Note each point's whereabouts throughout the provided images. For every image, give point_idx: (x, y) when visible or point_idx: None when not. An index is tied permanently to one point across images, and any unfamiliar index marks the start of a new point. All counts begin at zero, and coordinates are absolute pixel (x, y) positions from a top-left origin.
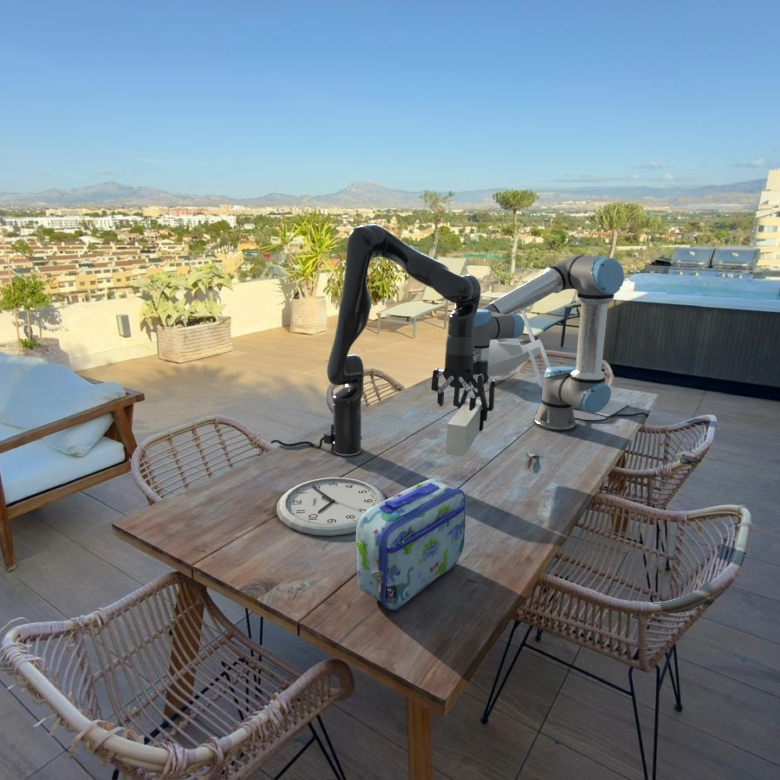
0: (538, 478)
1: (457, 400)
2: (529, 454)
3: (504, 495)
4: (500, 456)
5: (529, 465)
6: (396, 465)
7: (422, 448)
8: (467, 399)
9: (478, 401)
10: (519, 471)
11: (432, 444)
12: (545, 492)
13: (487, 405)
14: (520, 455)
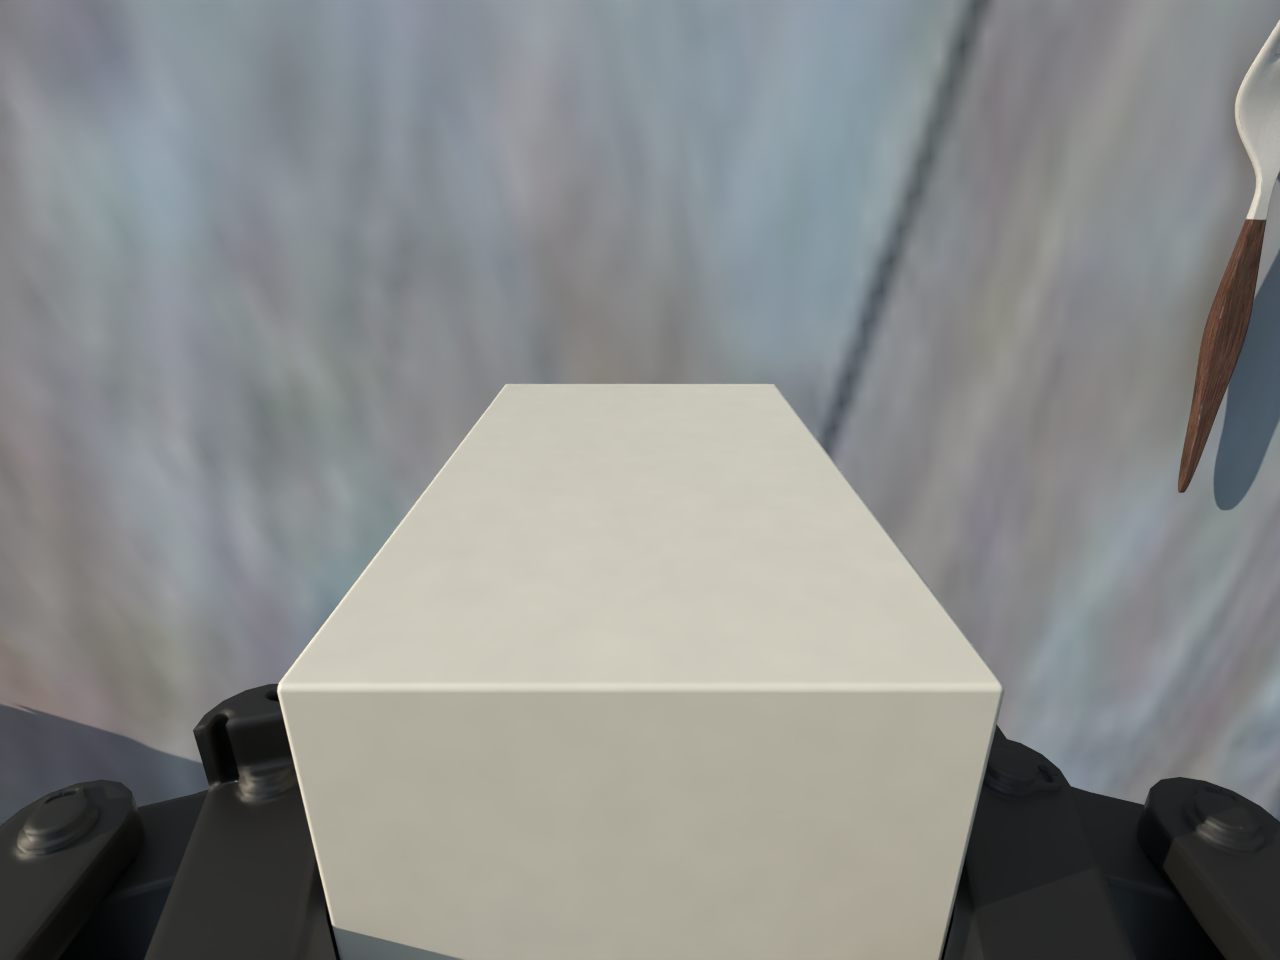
0: (1231, 584)
1: (40, 933)
2: (1251, 116)
3: None
4: (923, 274)
5: (1206, 439)
6: (171, 765)
7: (156, 401)
8: (315, 805)
9: (784, 856)
10: (1089, 524)
11: (185, 259)
12: (1238, 754)
13: (1092, 855)
14: (1138, 155)
